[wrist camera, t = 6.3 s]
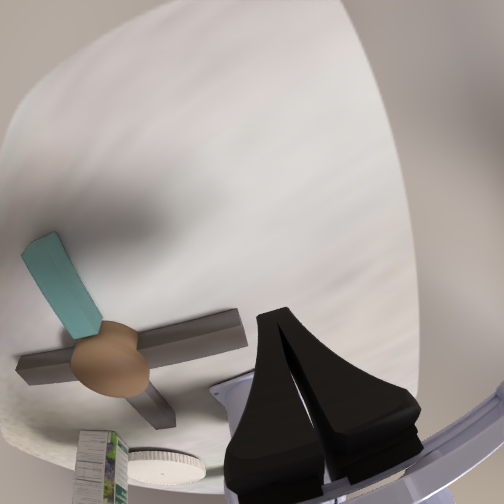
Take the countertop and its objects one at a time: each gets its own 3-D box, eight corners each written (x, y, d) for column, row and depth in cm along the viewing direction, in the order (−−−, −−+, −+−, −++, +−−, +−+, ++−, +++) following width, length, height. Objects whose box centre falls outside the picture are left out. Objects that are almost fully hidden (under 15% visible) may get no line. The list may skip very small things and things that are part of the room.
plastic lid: (201, 444, 36) (202, 459, 33) (206, 472, 42) (207, 483, 40) (108, 442, 33) (107, 456, 31) (131, 472, 40) (131, 483, 37)
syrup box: (130, 447, 34) (131, 534, 21) (95, 446, 33) (91, 528, 20) (114, 430, 31) (112, 527, 18) (78, 428, 30) (69, 520, 18)
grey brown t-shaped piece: (265, 392, 31) (271, 414, 28) (85, 422, 29) (82, 441, 27) (230, 286, 23) (235, 312, 20) (8, 341, 21) (-2, 362, 19)
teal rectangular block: (102, 317, 22) (98, 333, 20) (79, 322, 21) (73, 339, 20) (55, 231, 18) (44, 244, 16) (32, 241, 17) (20, 255, 16)
